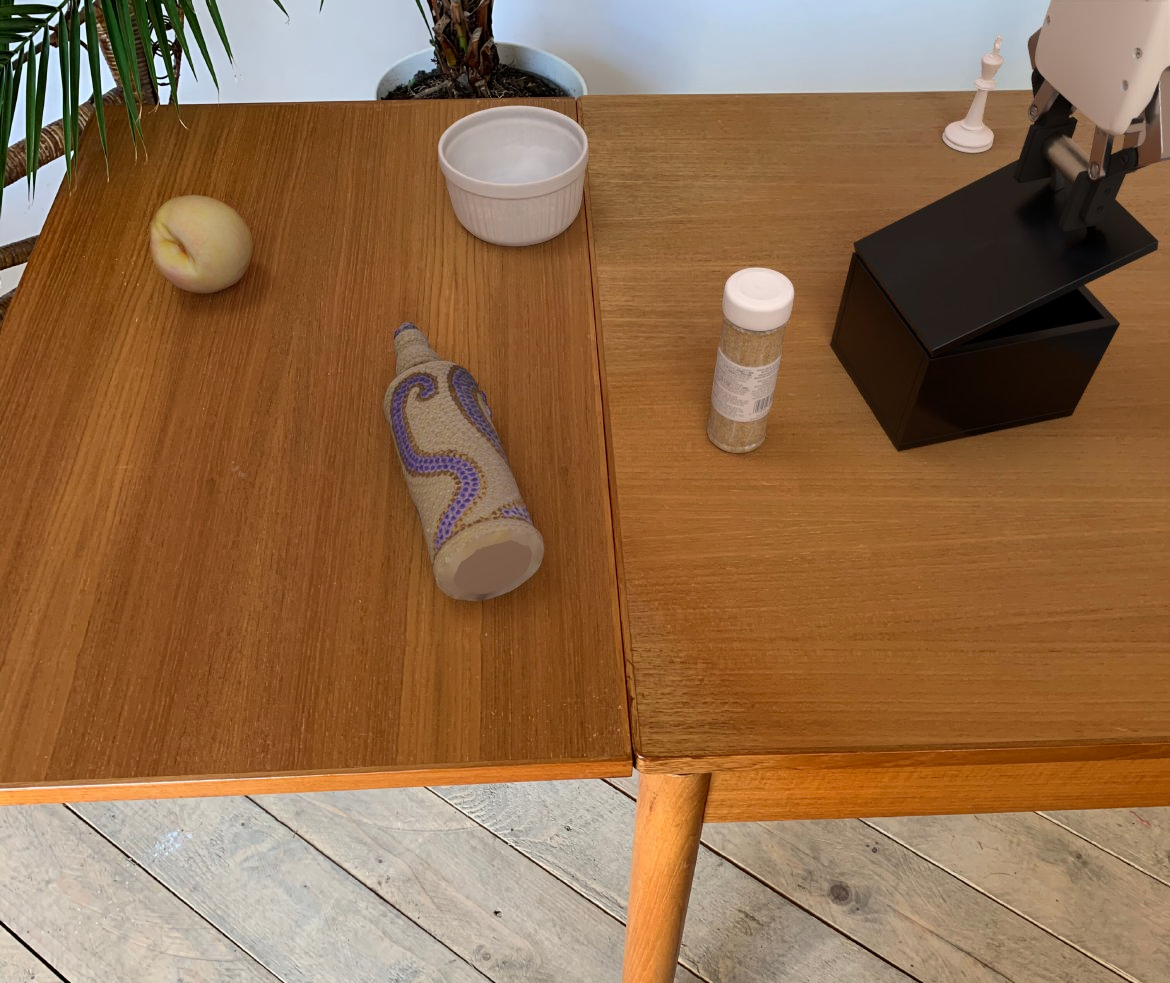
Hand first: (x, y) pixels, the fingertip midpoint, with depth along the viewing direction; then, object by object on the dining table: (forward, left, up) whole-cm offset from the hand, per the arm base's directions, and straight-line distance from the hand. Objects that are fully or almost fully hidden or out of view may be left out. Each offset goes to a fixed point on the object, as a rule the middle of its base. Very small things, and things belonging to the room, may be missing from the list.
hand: (1058, 198), depth 68 cm
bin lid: (+3, +1, -3) cm, 5 cm away
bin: (+3, +1, -15) cm, 16 cm away
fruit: (+64, -8, -15) cm, 67 cm away
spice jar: (+20, +8, -15) cm, 27 cm away
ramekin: (+39, -20, -15) cm, 47 cm away
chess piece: (-5, -35, -15) cm, 38 cm away
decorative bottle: (+40, +13, -15) cm, 45 cm away
